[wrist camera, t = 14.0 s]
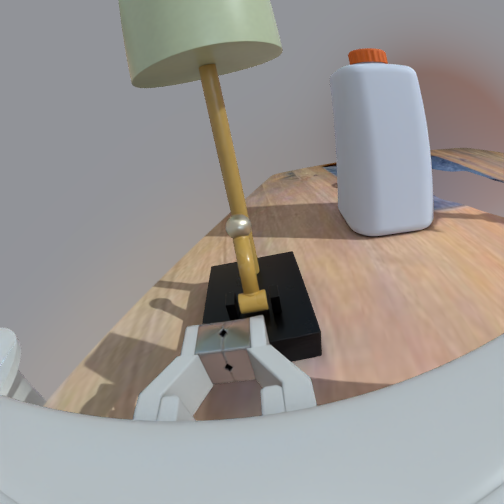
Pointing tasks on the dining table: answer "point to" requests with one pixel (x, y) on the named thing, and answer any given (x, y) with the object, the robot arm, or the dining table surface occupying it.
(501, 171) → the dining table surface
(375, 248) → the dining table surface
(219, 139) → the lamp
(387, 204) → the plastic bottle
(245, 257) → the lamp switch
